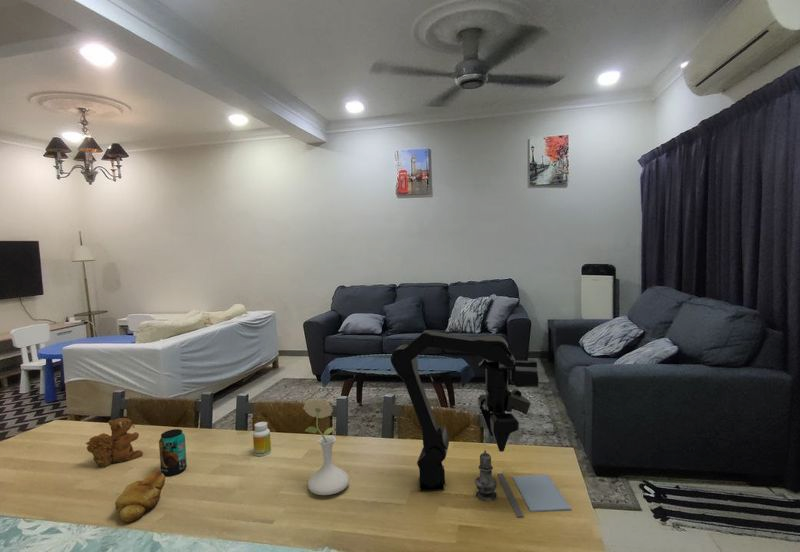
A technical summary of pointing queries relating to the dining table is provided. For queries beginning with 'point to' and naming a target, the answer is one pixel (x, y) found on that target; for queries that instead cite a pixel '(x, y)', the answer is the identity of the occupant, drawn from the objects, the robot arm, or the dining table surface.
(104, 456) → the stuffed squirrel
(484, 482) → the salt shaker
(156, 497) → the bread roll
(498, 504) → the dining table surface
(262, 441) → the supplement bottle
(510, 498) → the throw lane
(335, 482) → the flower in vase
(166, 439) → the beverage can
